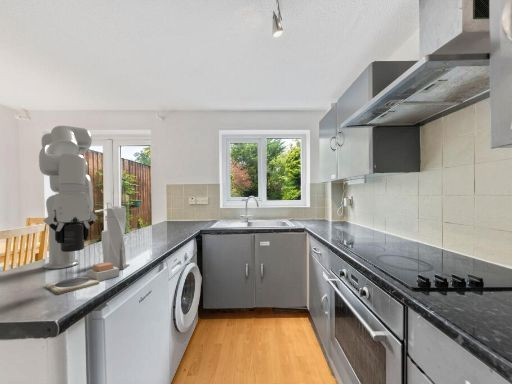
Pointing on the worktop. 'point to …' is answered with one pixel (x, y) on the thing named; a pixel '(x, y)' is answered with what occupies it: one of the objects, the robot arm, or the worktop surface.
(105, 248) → the drinking glass
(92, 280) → the cream square coaster
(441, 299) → the worktop surface
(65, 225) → the supplement bottle
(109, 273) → the button housing
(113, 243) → the skyscraper
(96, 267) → the button
